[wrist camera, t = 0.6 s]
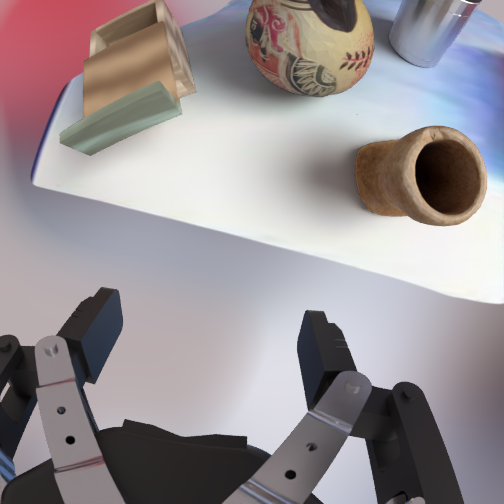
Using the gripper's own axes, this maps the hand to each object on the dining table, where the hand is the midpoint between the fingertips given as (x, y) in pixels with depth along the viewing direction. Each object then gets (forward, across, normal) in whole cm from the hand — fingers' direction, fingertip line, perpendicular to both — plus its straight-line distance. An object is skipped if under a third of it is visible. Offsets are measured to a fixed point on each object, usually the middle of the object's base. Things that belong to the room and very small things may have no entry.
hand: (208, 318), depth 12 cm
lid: (+24, +14, -13) cm, 31 cm away
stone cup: (+25, -22, -4) cm, 34 cm away
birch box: (+37, +15, -16) cm, 43 cm away
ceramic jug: (+33, -9, -17) cm, 38 cm away
